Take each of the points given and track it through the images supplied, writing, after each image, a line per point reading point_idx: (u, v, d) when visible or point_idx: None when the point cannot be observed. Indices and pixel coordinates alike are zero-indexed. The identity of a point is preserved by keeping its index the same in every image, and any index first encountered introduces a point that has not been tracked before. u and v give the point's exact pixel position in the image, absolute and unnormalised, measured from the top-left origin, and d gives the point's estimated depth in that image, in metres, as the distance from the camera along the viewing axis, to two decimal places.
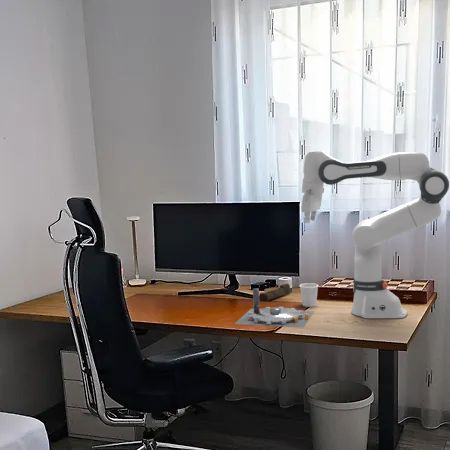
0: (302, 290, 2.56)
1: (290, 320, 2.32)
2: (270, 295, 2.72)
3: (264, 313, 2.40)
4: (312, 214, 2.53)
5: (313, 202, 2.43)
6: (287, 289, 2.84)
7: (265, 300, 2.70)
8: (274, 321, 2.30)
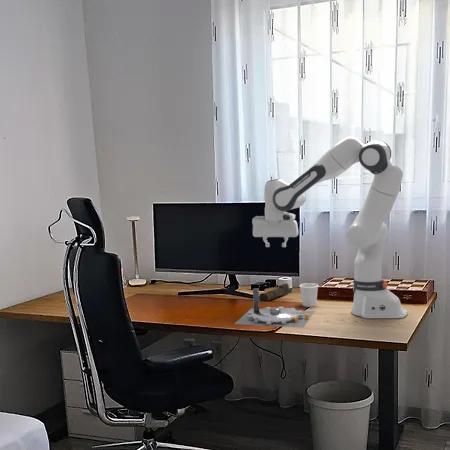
0: (302, 290, 2.56)
1: (290, 320, 2.32)
2: (270, 295, 2.73)
3: (264, 313, 2.40)
4: (285, 241, 2.57)
5: (265, 228, 2.57)
6: (286, 289, 2.84)
7: (265, 300, 2.70)
8: (274, 321, 2.30)
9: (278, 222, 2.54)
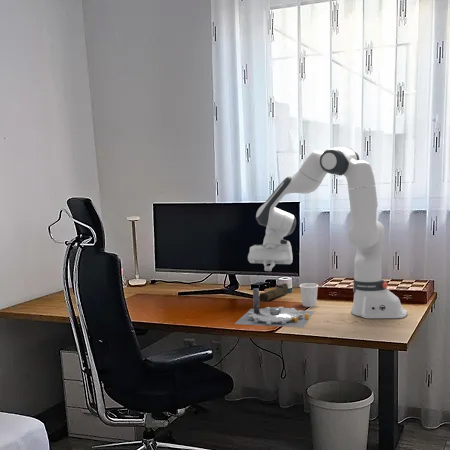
0: (302, 290, 2.56)
1: (290, 320, 2.32)
2: (270, 295, 2.73)
3: (264, 313, 2.40)
4: None
5: (261, 252, 2.64)
6: (285, 289, 2.85)
7: (265, 300, 2.70)
8: (274, 321, 2.30)
9: (275, 247, 2.64)
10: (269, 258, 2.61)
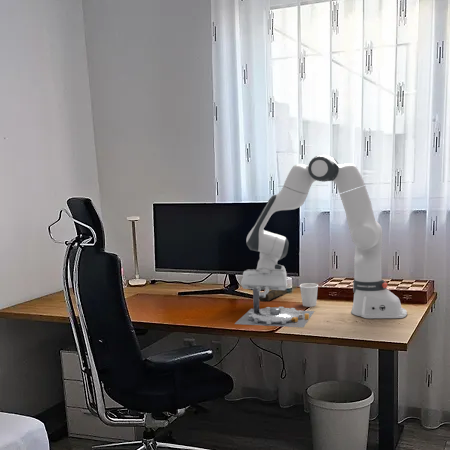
0: (302, 290, 2.56)
1: (290, 320, 2.32)
2: (270, 295, 2.73)
3: (264, 313, 2.40)
4: None
5: (255, 277, 2.54)
6: None
7: (266, 300, 2.70)
8: (274, 321, 2.30)
9: (269, 272, 2.53)
10: (263, 284, 2.51)
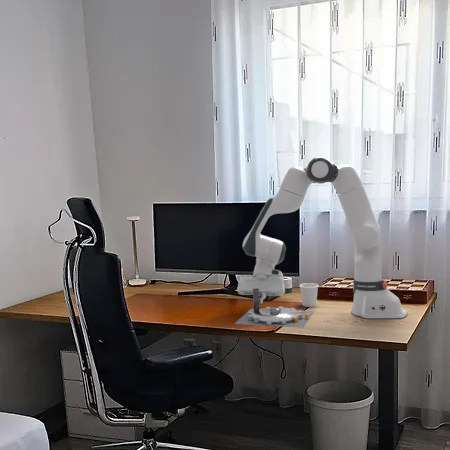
0: (302, 290, 2.56)
1: (290, 320, 2.32)
2: None
3: (264, 313, 2.40)
4: None
5: (252, 283, 2.49)
6: None
7: (266, 300, 2.70)
8: (274, 321, 2.30)
9: (266, 277, 2.48)
10: (260, 290, 2.45)
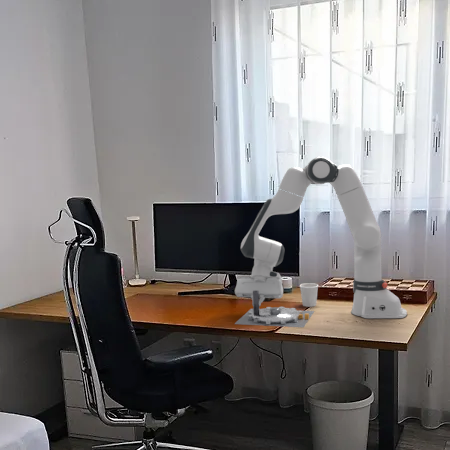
0: (302, 290, 2.56)
1: (298, 317, 2.35)
2: None
3: (265, 314, 2.38)
4: None
5: (249, 285, 2.45)
6: None
7: (266, 300, 2.70)
8: (286, 320, 2.31)
9: (264, 279, 2.44)
10: None
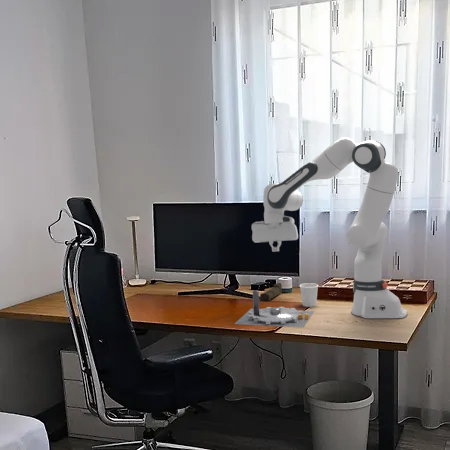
0: (302, 290, 2.56)
1: (298, 317, 2.35)
2: (270, 295, 2.73)
3: (265, 314, 2.38)
4: None
5: (265, 232, 2.57)
6: (280, 288, 2.87)
7: (267, 300, 2.70)
8: (286, 320, 2.31)
9: (278, 225, 2.56)
10: (275, 239, 2.56)
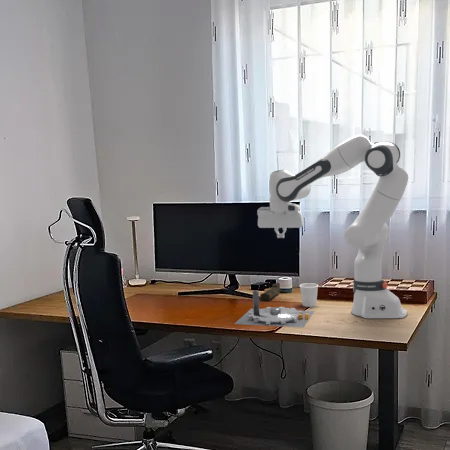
0: (302, 290, 2.56)
1: (298, 317, 2.35)
2: (270, 295, 2.73)
3: (265, 314, 2.38)
4: (283, 232, 2.59)
5: (271, 219, 2.58)
6: (279, 288, 2.87)
7: (267, 300, 2.70)
8: (286, 320, 2.31)
9: (283, 213, 2.55)
10: (280, 226, 2.57)
